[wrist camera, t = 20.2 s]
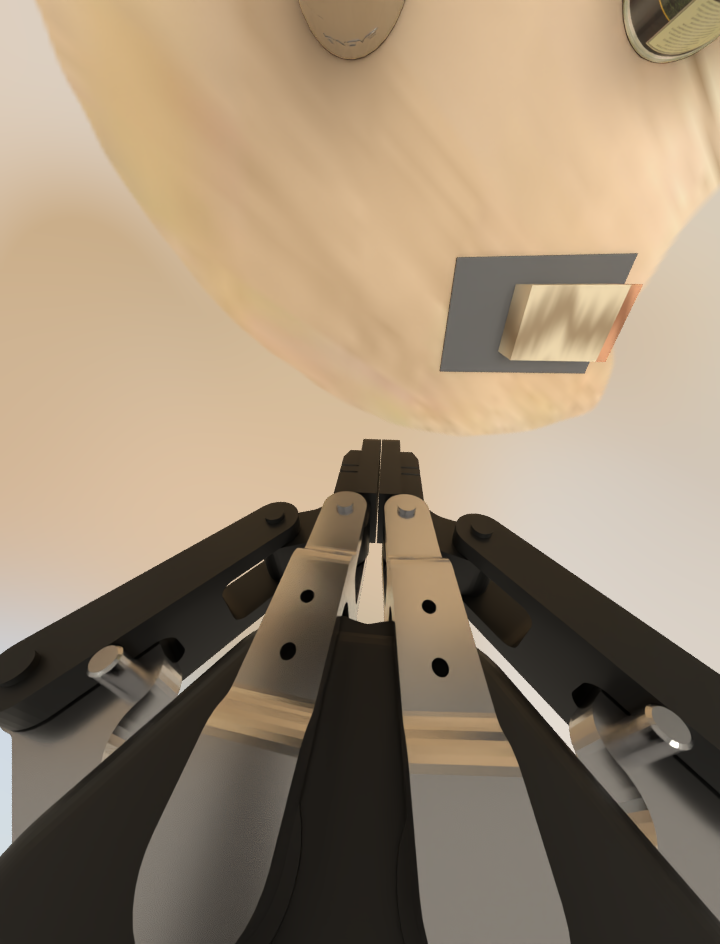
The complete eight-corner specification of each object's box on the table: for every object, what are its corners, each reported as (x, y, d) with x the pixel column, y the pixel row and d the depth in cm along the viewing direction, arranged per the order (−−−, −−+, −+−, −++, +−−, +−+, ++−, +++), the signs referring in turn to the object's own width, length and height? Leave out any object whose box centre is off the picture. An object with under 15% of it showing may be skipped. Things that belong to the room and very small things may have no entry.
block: (532, 285, 27) (642, 284, 26) (515, 284, 31) (612, 283, 30) (510, 360, 31) (605, 361, 30) (498, 351, 35) (582, 352, 34)
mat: (456, 257, 30) (457, 257, 30) (634, 253, 29) (637, 253, 28) (439, 370, 37) (440, 371, 37) (582, 372, 35) (584, 373, 35)
